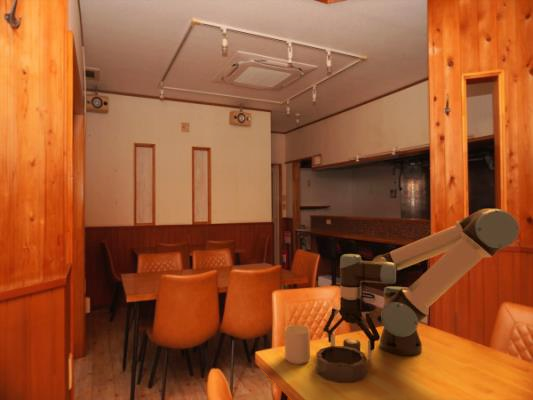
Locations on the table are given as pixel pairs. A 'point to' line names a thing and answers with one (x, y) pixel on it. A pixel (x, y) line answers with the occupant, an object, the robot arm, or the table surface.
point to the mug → (297, 344)
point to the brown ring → (341, 372)
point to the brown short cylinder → (352, 343)
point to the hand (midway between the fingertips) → (351, 355)
